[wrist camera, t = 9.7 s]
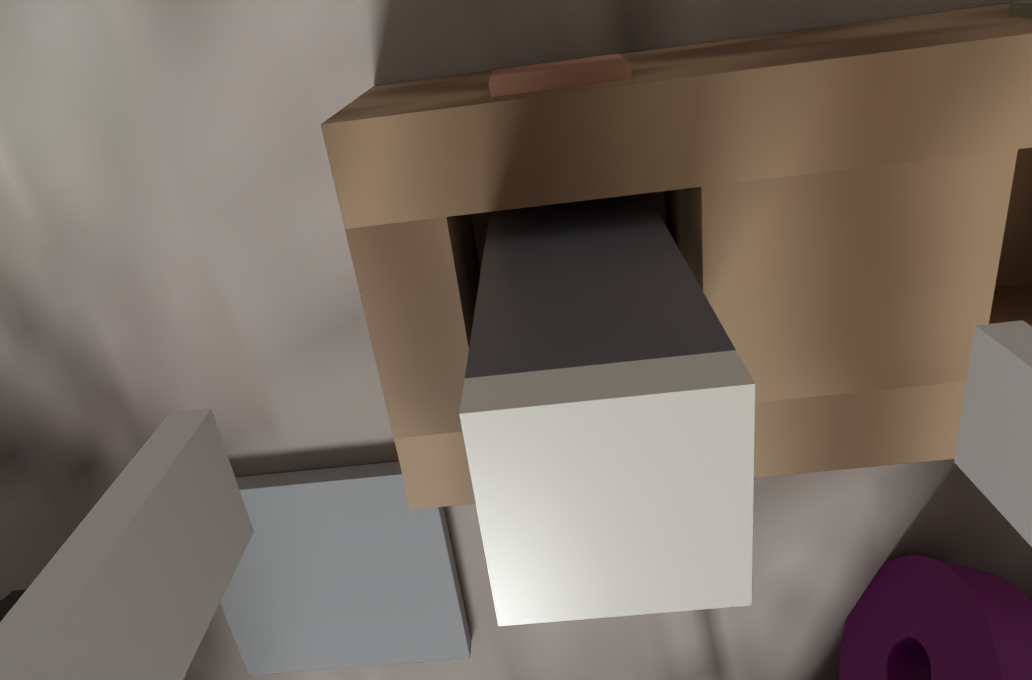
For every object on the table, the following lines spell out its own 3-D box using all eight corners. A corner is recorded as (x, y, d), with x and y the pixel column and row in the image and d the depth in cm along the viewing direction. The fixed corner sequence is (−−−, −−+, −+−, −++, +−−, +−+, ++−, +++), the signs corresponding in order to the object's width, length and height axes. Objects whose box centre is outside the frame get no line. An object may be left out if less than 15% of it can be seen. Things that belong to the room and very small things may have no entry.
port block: (435, 395, 25) (410, 509, 20) (371, 74, 21) (317, 109, 15) (1117, 324, 24) (1291, 427, 18) (1207, -36, 19) (1473, -40, 14)
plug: (511, 318, 23) (498, 626, 12) (492, 189, 21) (459, 413, 10) (642, 303, 22) (751, 605, 12) (635, 172, 21) (754, 383, 10)
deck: (255, 659, 31) (248, 675, 30) (186, 482, 27) (176, 496, 26) (471, 641, 30) (470, 658, 29) (433, 458, 26) (430, 471, 26)
